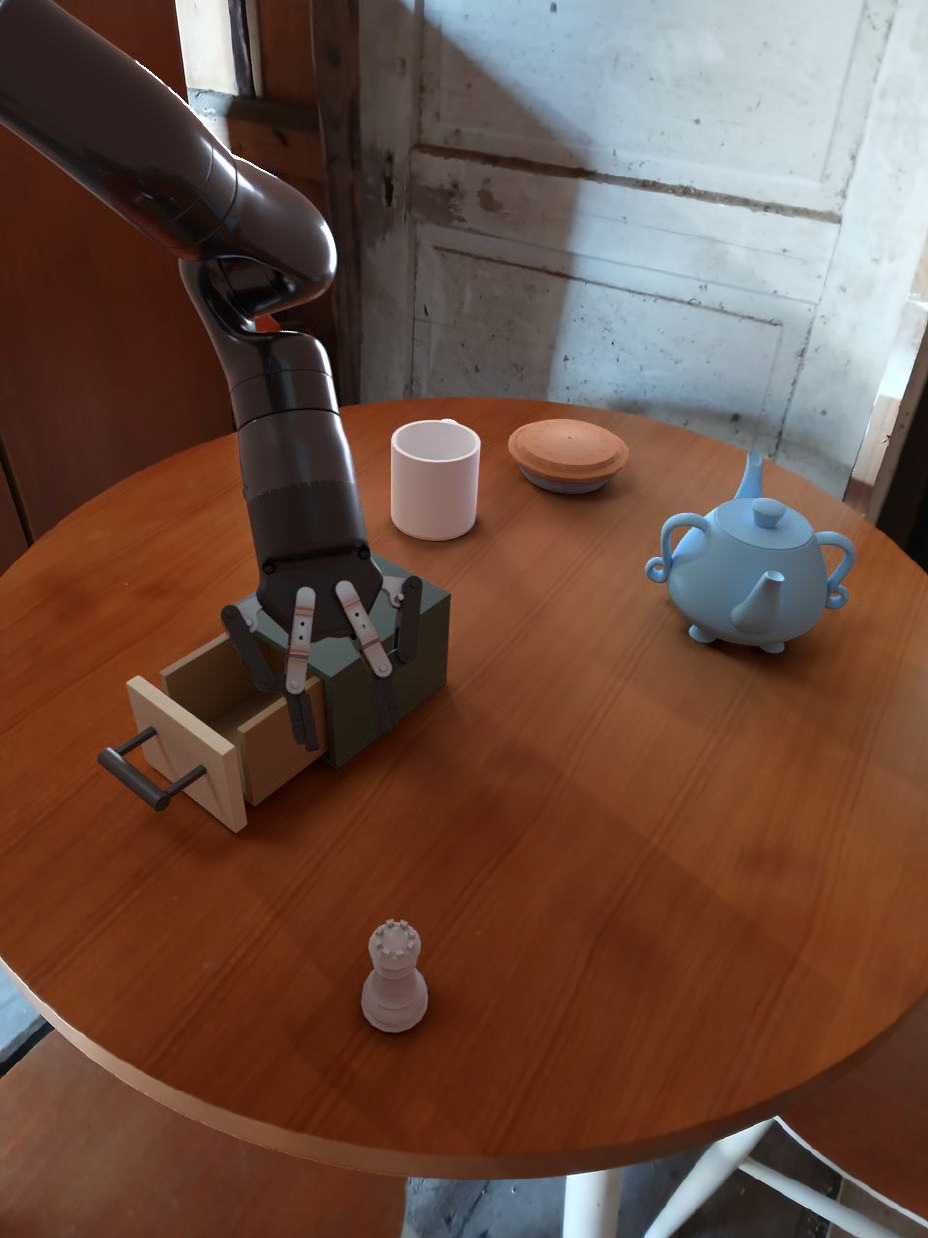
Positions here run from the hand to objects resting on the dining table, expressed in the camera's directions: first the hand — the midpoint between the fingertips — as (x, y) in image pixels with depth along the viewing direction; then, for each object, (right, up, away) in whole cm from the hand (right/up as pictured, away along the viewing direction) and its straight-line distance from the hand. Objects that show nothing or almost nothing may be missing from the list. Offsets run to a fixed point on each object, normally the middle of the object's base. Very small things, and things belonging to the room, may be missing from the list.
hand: (349, 741), depth 60 cm
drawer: (-12, -4, +15) cm, 20 cm away
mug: (+4, +21, +49) cm, 53 cm away
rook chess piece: (+3, -18, +1) cm, 18 cm away
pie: (+21, +27, +58) cm, 67 cm away
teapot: (+36, +8, +36) cm, 52 cm away
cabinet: (-4, +1, +24) cm, 24 cm away
